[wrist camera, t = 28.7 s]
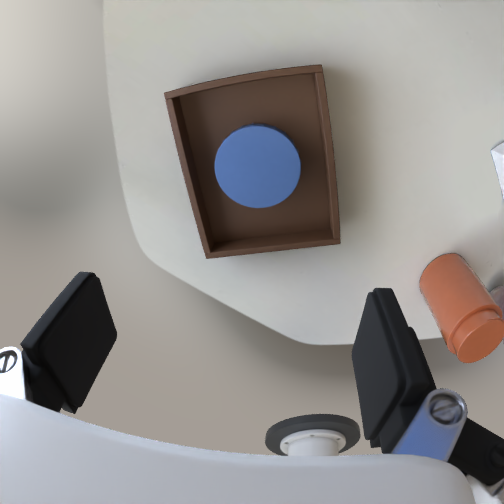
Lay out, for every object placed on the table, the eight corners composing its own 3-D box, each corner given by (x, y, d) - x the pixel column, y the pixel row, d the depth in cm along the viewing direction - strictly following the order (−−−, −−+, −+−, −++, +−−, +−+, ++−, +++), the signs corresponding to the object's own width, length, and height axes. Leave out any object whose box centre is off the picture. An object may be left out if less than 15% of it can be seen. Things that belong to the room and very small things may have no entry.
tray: (335, 229, 29) (340, 244, 27) (211, 244, 31) (206, 259, 29) (317, 66, 22) (321, 64, 20) (174, 91, 24) (163, 92, 22)
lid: (216, 122, 24) (212, 125, 23) (301, 124, 24) (303, 127, 22) (219, 199, 28) (215, 207, 26) (298, 202, 28) (299, 210, 26)
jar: (461, 295, 32) (497, 357, 23) (416, 304, 33) (445, 372, 24) (471, 249, 29) (518, 309, 20) (422, 257, 30) (463, 324, 21)
